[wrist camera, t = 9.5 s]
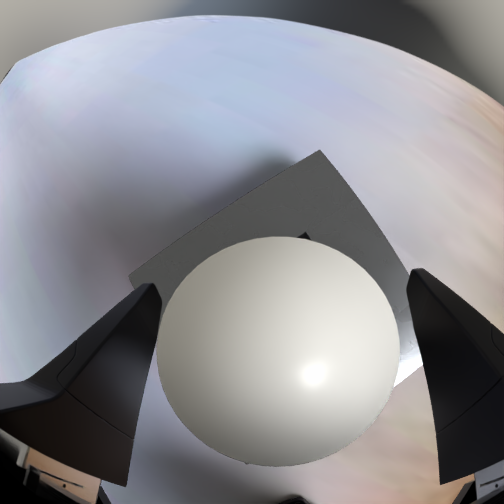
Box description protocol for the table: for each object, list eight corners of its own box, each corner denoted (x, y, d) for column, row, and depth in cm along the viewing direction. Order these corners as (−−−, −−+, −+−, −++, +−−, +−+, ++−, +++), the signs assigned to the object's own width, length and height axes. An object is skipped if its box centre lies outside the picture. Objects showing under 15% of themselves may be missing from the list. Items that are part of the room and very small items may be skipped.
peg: (282, 360, 17) (256, 494, 4) (239, 308, 18) (118, 335, 5) (336, 317, 17) (438, 367, 4) (292, 264, 17) (292, 186, 5)
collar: (255, 434, 16) (246, 464, 12) (158, 280, 19) (128, 275, 15) (416, 335, 15) (445, 344, 12) (315, 177, 18) (319, 149, 14)
